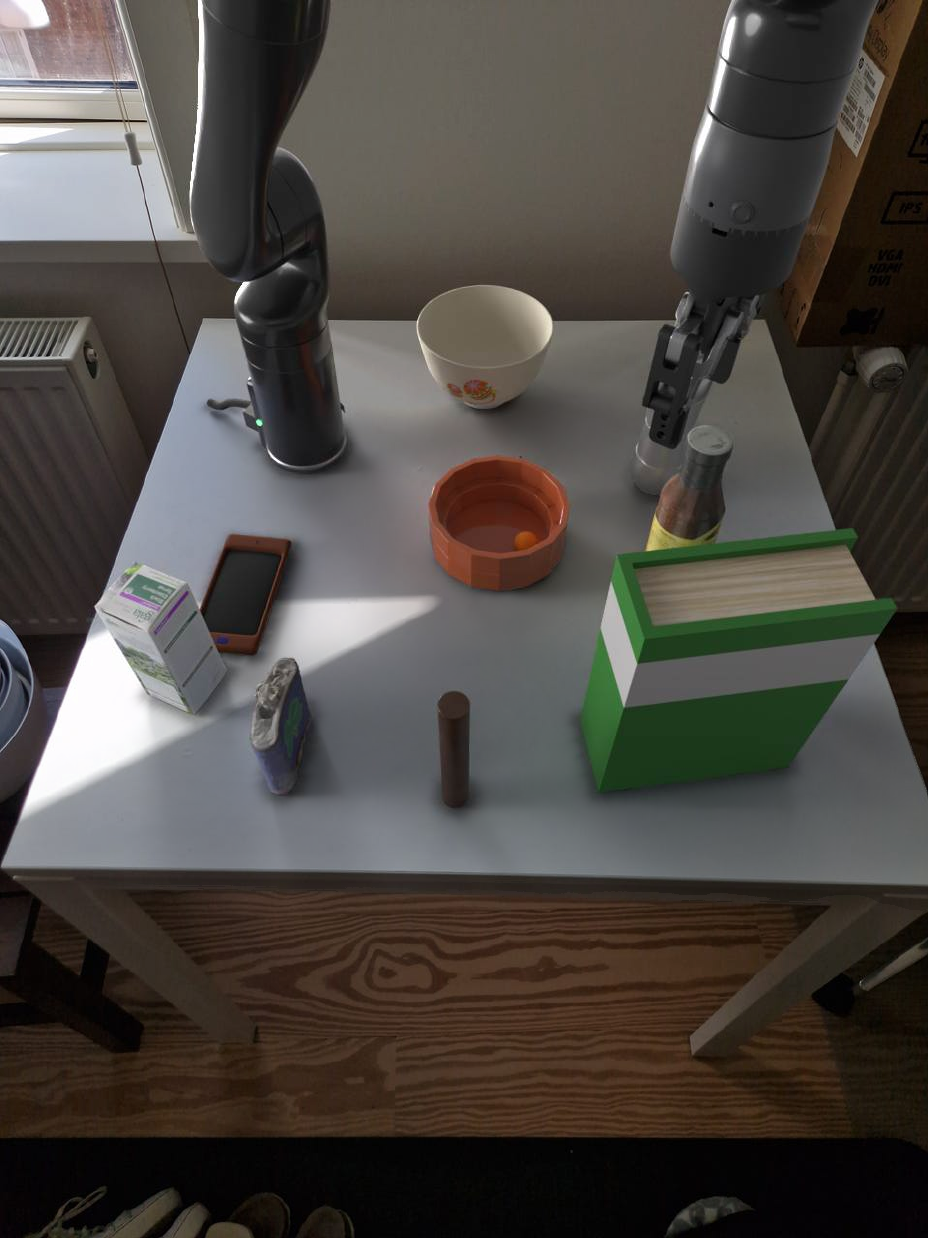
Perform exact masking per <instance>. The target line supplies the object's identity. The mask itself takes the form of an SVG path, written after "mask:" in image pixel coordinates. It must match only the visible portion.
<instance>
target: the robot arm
mask: <svg viewBox="0 0 928 1238" xmlns="http://www.w3.org/2000/svg"><path fill="white" fill-rule="evenodd" d="M197 2H198V19H199V20H198V21H199V54H198V55H199V57H198V58H199V59H198V60H199V61H198V100H197V101H198V103H197V105H198V106H197V108H198V109H197V121H196V134H195V142H194V152H193V161H192V170H191V180H190V190H189V210H190V219H191V224H192V228H193V232H194V235H195V238H196V241H197V244H198V246H199V249H200V251H201V253H202V255H203V256H204V258H205V259H206V261H207V263H208V264H209V265H210V266H211V268H212V269H213V270H214V271H215V272H217V274H219V275H220V276H222V277H223V278H225V279H227V280H230V281H231V282H235V283H242V285H241V286H240V287H239V289H238V291H237V292H236V294H235V297H234V302H233V314H234V317H235V323H236V327H237V329H238V334H239V338H240V341H241V345H242V350H243V354H244V357H245V361H246V365H247V369H248V373H249V378H247V380H246V387H247V391H248V396H249V400H247V399H241V398H226V399H224V400H222V401H216V400H215V399H212V398H209V399H207V401H206V406H207V407H209V408H211V409H213V410H216V411H224V410H227V409H229V408H233V407H234V408H239V409H243V410H242V414H243V419H244V423H245V426H246V427H248V428H249V429H251V430H253V431H256V432H257V433H258V435H259V438H260V442H261V446H262V447H263V448H265V449H266V450H267V453H268V456H269V458H270V460H271V461H272V463H273V464H275V465H276V466H277V467H278V468H280V469H282V470H284V471H287V472H290V473H295V474H310V473H316V472H319V471H323V470H325V469H328V468H330V467H332V466H333V465H334V464H336V463H338V461H339V460H341V459H342V457H344V454H345V453H346V450H347V447H348V439H347V434H346V430H345V425H344V419H343V418H344V417H343V413H344V414H346V409H345V405H344V404H343V403H342V402H341V397H340V396H341V395H340V391H339V383H338V377H337V369H336V364H335V363H336V362H335V357H334V351H333V350H334V349H333V344H332V337H331V331H330V330H331V329H330V324H329V317H328V310H327V306H328V302H329V300H330V295H331V276H330V275H331V274H330V262H329V250H328V238H327V229H326V228H327V227H326V220H325V213H324V209H323V205H322V201H321V198H320V194H319V191H318V188H317V186H316V184H315V182H314V179H313V177H312V175H311V174H310V172H309V171H308V169H307V168H306V167H305V165H304V164H303V163H302V162H301V161H300V160H299V158H298V157H297V156H296V155H295V154H293V153H292V152H291V151H288V150H287V149H285V148H282V147H278V146H279V143H280V141H281V140H282V137H283V135H284V134H285V131H286V129H287V127H288V124H289V123H290V121H291V120H292V117H293V116H294V113H295V111H296V109H297V108H298V106H299V105H300V102H301V100H302V98H303V96H304V94H305V92H306V90H307V88H308V86H309V85H310V82H311V80H312V79H313V76H314V73H315V71H316V69H317V66H318V63H319V61H320V59H321V56H322V53H323V50H324V48H325V44H326V40H327V36H328V29H329V23H330V17H331V9H332V3H333V2H332V0H197ZM878 3H879V0H731V2H730V4H729V7H728V9H727V12H726V16H725V18H724V22H723V26H722V30H721V33H720V39H719V43H718V47H717V51H716V56H715V61H714V65H713V71H712V76H711V80H710V85H709V89H708V93H707V97H706V103H705V107H704V110H703V113H702V116H701V119H700V122H699V124H698V127H697V130H696V134H695V137H694V139H693V144H692V148H691V150H690V156H689V161H688V166H687V170H686V174H685V180H684V184H683V189H682V194H681V197H680V204H679V208H678V212H677V216H676V222H675V227H674V231H673V235H672V241H671V245H670V251H669V255H670V262H671V265H672V267H673V268H674V270H675V271H676V273H677V274H678V275H679V276H680V277H681V279H682V280H683V281H684V282H685V284H686V285H687V287H688V289H689V291H686V292H685V293H684V294H683V295H682V297H681V299H680V302H679V304H678V306H677V309H676V311H675V318H676V320H675V323H674V325H672V324H669V323H664V324H663V325H662V327H660V329H659V331H658V333H657V340H656V344H655V347H654V351H653V356H652V360H651V365H650V369H649V373H648V376H647V381H646V385H645V389H644V393H643V396H642V402H641V406H642V407H644V408H646V409H647V408H650V409H652V410H654V414H653V418H652V423H651V427H650V431H649V438H650V439H651V440H652V441H653V442H655V443H658V444H660V445H662V446H665V447H667V448H669V449H675V448H676V447H677V446H678V444H679V443H680V442H681V439H682V436H683V432H684V429H685V425H686V421H687V418H688V414H689V410H690V407H691V406H692V404H693V399H694V397H695V395H696V392H697V390H698V388H699V386H700V384H701V382H702V380H704V379H709V380H711V381H713V382H714V383H717V384H718V385H724V384H726V383H727V381H728V380H729V379H730V377H731V374H732V371H733V369H734V365H735V362H736V359H737V356H738V353H739V349H740V346H741V342H742V340H744V339H745V338H746V336H747V335H748V334H749V332H750V329H751V328H750V327H751V324H752V322H753V321H754V320H756V319H757V318H758V316H759V315H760V314H761V312H762V310H763V307H762V306H763V304H764V301H765V300H764V299H765V297H766V294H768V293H770V292H773V291H775V290H777V289H778V288H779V287H781V286H782V285H783V284H784V283H785V282H786V281H787V280H788V278H789V277H790V275H791V273H792V271H793V269H794V265H795V262H796V260H797V257H798V253H799V251H800V248H801V245H802V242H803V239H804V236H805V233H806V231H807V227H808V224H809V221H810V218H811V216H812V213H813V210H814V207H815V204H816V201H817V198H818V195H819V192H820V190H821V186H822V184H823V181H824V178H825V175H826V172H827V169H828V165H829V160H830V157H831V152H832V147H833V141H834V136H835V132H836V129H837V125H838V121H839V119H840V116H841V113H842V111H843V110H842V109H843V107H844V104H845V101H846V98H847V95H848V92H849V89H850V86H851V83H852V80H853V77H854V74H855V71H856V68H857V65H858V62H859V60H860V56H861V53H862V49H863V45H864V42H865V37H866V33H867V31H868V27H869V25H870V22H871V19H872V16H873V14H874V12H875V10H876V7H877V5H878ZM701 353H702V354H704V356H703V360H702V363H696V362H697V358H698V357H699V356H700V354H701Z"/></svg>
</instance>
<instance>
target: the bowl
mask: <svg viewBox="0 0 928 1238" xmlns="http://www.w3.org/2000/svg"><path fill="white" fill-rule="evenodd" d="M416 321H417V322H416V333H417V337H418V340H419V344H420V346H421V350H422V353H423V356H424V359H425V362H426V365H427V368H428V370H429V372H430V374H431V376H432V377H433V379H434V381H435V382H436V383H437V385H438V386H439V387H440V388H441V389H442V390H443V391H444V392H445V393H447V394H448V395H449V396H451V397H453V398H455V399H456V400H458V401H461V402H462V403H463V404H465V405H466V406H468V407H471V408H474V409H477V410H491V409H494V408H497V407H499V406H502V405H503V404H504V403H506V402H509V401H511V400H513V399H515V398H517V397H518V396H519V395H521V394H522V393H524V392H525V391H526V390H527V389H528V388H530V386H531V385H532V384H533V382H534V380H535V379H536V377H537V376H538V374H539V372H540V371H541V369H542V365H543V364H544V361H545V358H546V357H547V353H548V350H549V347H550V345H551V342H552V339H553V336H554V329H555V327H554V321H553V317H552V314H551V313H550V311H549V310H548V309H547V307H545V306H544V304H542V302H540V301H539V300H538V299H536V298H534V297H533V296H531V295H529V294H527V293H525V292H524V291H521V290H516V289H515V288H510V287H505V286H501V285H491V284H479V285H478V284H477V285H469V286H463V287H458V288H455V289H451V290H449V291H446V292H444V293H441V294H439V295H438V296H436V297H435V298H433V299H432V300H430V301H429V302H428V303H427V304H426V305H425V306H424V307H423V308H422V310H421V311H420V312H419V315H418V318H417V320H416Z"/></svg>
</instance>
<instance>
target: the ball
mask: <svg viewBox="0 0 928 1238" xmlns="http://www.w3.org/2000/svg"><path fill="white" fill-rule="evenodd" d="M537 544H538V539H537V537H536V536H535V535H534V534H533V533H531V532H528V531H524V532H521V533H519V534H518V535H517V536H516V537H515V539H514V548H515V550H516V551H522V550H527V549H529V548H531V547H533V546H535V545H537Z"/></svg>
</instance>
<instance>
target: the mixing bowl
mask: <svg viewBox="0 0 928 1238" xmlns="http://www.w3.org/2000/svg"><path fill="white" fill-rule="evenodd" d="M570 509H571V504H570V500H569V497H568V495H567V492H566V489H565V487H564V485H563V484H562V483H561V482H560V481H559V480H558V479H557V478H556V476H554V475H553V474H552V473H551V472H550V471H549V470H548V469H547V468H544V467H542V466H540V465H538V464H537V463H534V462H532V461H530V460H527V459H526V458H520V457H514V456H506V455H500V454H497V455H490V456H483V457H475V458H470V459H468V460H467V461H465V462H462V463H460V464H458V465H455V466H453V467H451V468H450V469H449V470H448V471H447V472H446V473H444V475H443V476H441V478H439V480H438V481H437V482H436V483H435V484H434V486H433V488H432V492H431V494H430V498H429V502H428V524H429V539H430V544H431V548H432V552H433V557H434V558H435V560H436V561H437V563H438V564H439V565H440V566H441V567H442V568H443V570H445V572H446V573H447V574H448V575H449V576H451V577H453V578H455V579H457V580H458V581H460V582H462V583H464V584H465V585H467V586H469V587H471V588H477V589H483V590H489V591H495V592H503V591H510V590H516V589H523V588H526V587H528V586H530V585H532V584H534V583H536V582H538V581H540V580H542V579H544V578H545V577H547V576H549V575H550V573H551V572H552V571H553V570H554V568H555V567H556V566H557V565H558V564H559V562H560V561H561V560H562V558H563V554H564V549H565V543H566V537H567V530H568V524H569V518H570V512H571V511H570ZM524 531H528V532H531V533H533V534H534V535H535V536H536V537H537V539H538V544H537V545H535V546H533V547H531V548H529V549H527V550H522V551H516V550H515V548H514V539H515V537H516V536H517V535H518V534H519V533H521V532H524Z"/></svg>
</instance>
